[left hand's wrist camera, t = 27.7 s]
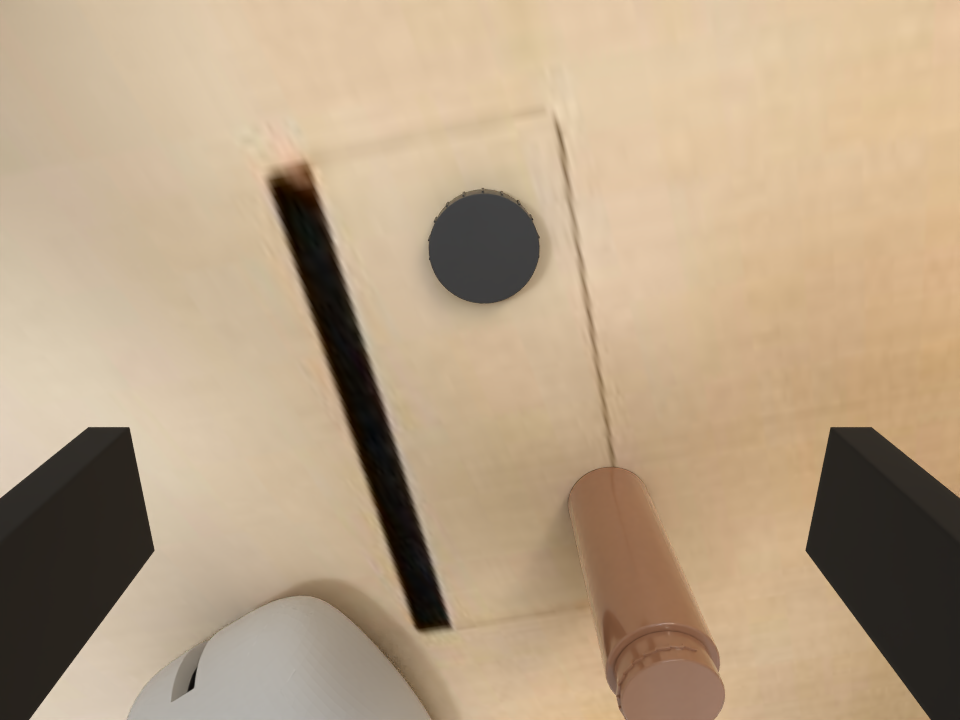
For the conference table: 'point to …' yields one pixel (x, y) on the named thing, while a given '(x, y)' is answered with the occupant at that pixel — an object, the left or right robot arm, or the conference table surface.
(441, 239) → the lid
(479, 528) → the conference table surface
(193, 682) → the projector
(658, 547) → the jar
